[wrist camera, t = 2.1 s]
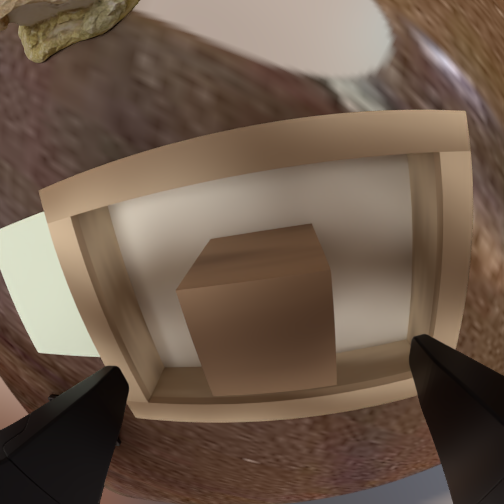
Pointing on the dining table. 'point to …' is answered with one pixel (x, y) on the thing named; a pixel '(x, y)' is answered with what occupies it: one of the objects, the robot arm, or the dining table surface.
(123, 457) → the dining table surface
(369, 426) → the dining table surface
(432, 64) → the dining table surface
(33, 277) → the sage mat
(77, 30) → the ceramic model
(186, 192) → the box
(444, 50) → the dining table surface
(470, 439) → the robot arm
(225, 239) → the walnut block
